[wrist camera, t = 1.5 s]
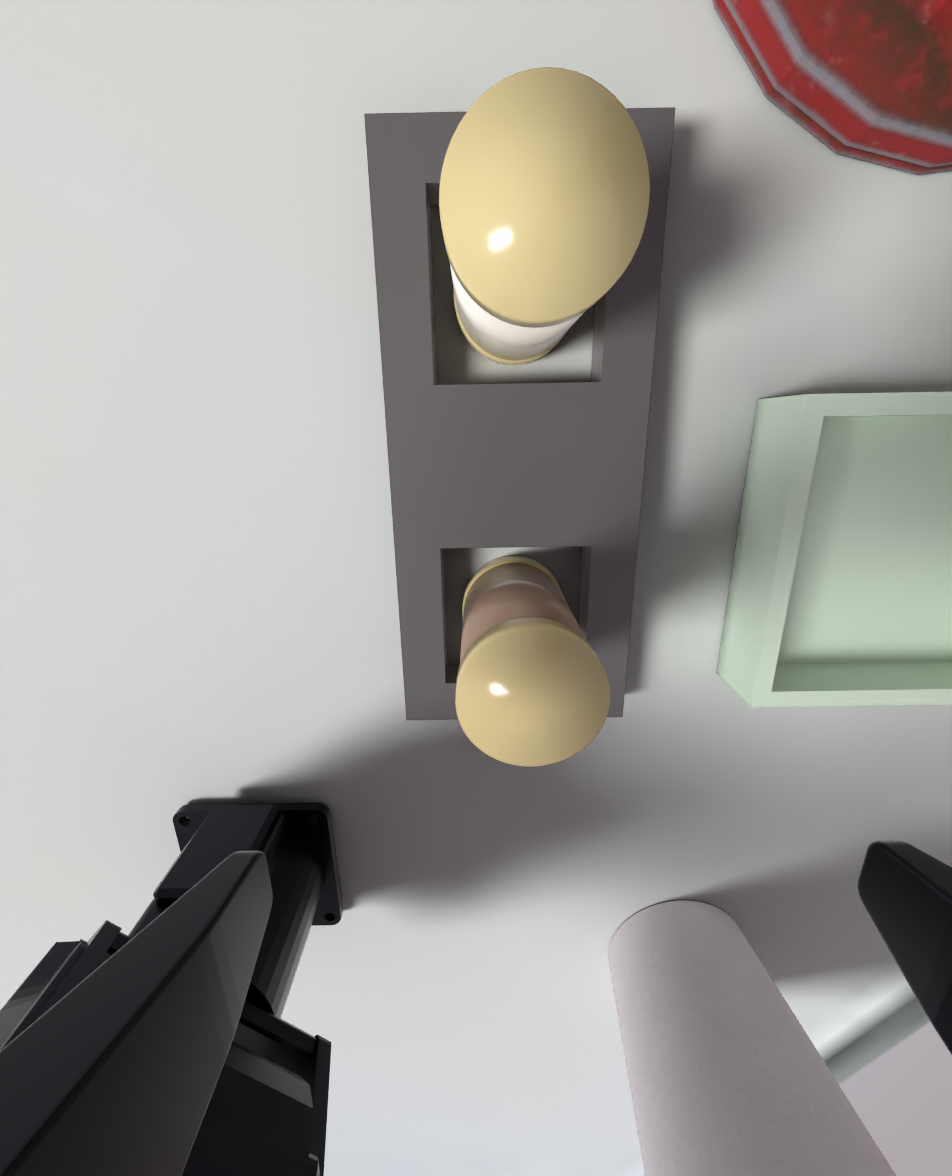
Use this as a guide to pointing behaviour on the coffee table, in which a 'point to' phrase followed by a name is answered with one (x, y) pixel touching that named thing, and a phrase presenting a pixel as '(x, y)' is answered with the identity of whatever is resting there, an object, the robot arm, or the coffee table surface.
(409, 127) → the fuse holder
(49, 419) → the coffee table surface
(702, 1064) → the coffee cup
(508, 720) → the fuse
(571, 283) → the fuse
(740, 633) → the parts tray
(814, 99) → the hourglass
